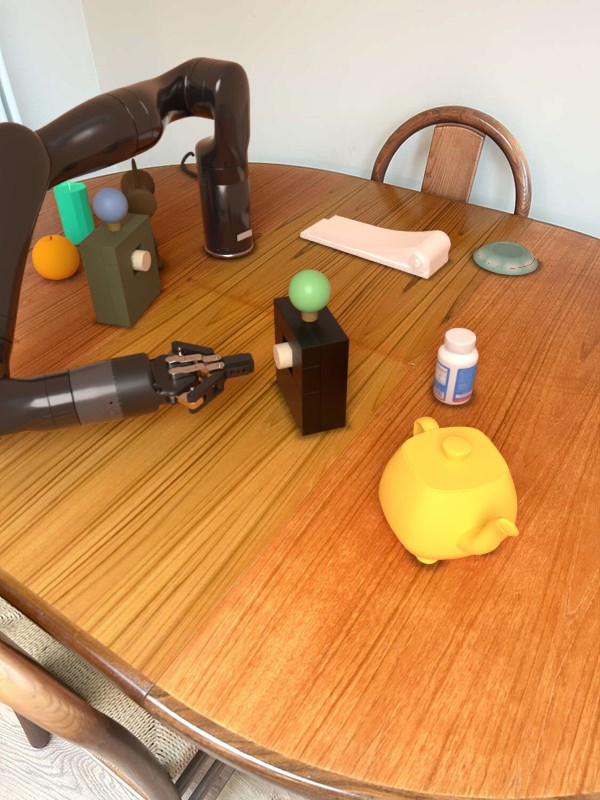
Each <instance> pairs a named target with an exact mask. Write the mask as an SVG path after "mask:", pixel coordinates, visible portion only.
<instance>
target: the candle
mask: <svg viewBox="0 0 600 800" xmlns="http://www.w3.org/2000/svg"><path fill="white" fill-rule="evenodd" d="M52 191H53V195H54V198H55V202H56V206H57V210H58V213H59V218H60V222H61V227H62V229H63V233H64V237H65V238H67V239H69V240H70V241H71V242H72V243H73V244H74V245H75V246H79V243H80V242H81V241H82V240H83V239H84V238H86V237H87V236H88V235H89V234H90V233H91V232H93V231H94V230H95V229H96V226H95V219H94V216H93V212H92V207H91V202H90V198H89V193H88V189H87V186H86V184H85V183H84V182H75V181H70V180H68V181H66V182H63V183H61V184H59V185H57V186H55V187H53V190H52Z"/></svg>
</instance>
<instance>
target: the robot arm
mask: <svg viewBox="0 0 600 800" xmlns="http://www.w3.org/2000/svg"><path fill="white" fill-rule="evenodd" d="M187 118H202V119H206V120H211V121H213V135H210V136H206V137H204V138H201V139H200V140H198V141H197V142H196V144H195V146H194V152H193V151H188V152H187V153H185V154H184V155H183V157H182V159H181V161H180V168H181V170H182V171H183V172H185V173H186V174H188V175H190V176H192V177H194V178H196V179H197V182H198V183H197V184H198V192H199V200H200V208H201V209H200V210H201V219H202V228H203V239H204V251H205V253H206V254H207V255H208V256H210V257H213V258H215V259H219V260H220V259H222V260H232V259H233V260H234V259H238V258H242V257H245V256H248V255H249V254H250V253H252V252H253V250H254V248H255V246H254V239H253V238H254V236H253V219H252V218H253V217H252V203H251V202H252V200H251V186H250V184H251V183H250V171H249V170H250V169H249V145H250V143H251V88H250V82H249V77H248V74H247V72H246V70H245V68H244V67H243V66H242V65H241V64H240V63H238V62H236V61H232V60H225V59H219V58H213V57H205V56H199V57H197V56H196V57H193V58H190V59H187V60H185V61H184V62H182V63H180V64H178V65H177V66H174V67H173V68H171V69H168V70H167V71H166V72H164V73H161V74H160V75H158V76H155V77H153V78H149V79H145V80H140V81H137V82H134V83H132V84H129V85H126V86H122V87H118V88H115V89H112V90H109V91H107V92H103V93H101V94H97V95H95V96H93V97H91V98H89V99H87V100H85V101H83V102H81V103H80V104H77V105H75V106H74V107H72V108H70V109H69V110H67V111H66V112H64V113H63V114H61V115H59V116H57V117H56V118H55V119H53V120H51V121H50V122H48V123H47V124H45V125H44V126H41V127H40V128H38V129H36V130H32V129H31V128H29V127H28V126H26V125H24V124H21V123H19V122H14V121H2V122H1V121H0V440H1V439H2V438H3V437H7V436H12V435H16V434H17V435H18V434H21V433H36V434H46V433H54V432H58V431H63V430H64V431H65V430H69V429H73V428H78V427H82V426H90V425H102V424H107V423H113V422H117V421H122V420H128V419H131V418H136V417H141V416H146V415H150V414H151V415H152V414H155V413H157V412H159V409H160V406H162V405H170V406H171V405H172V406H174V405H178V404H182V405H184V406H185V407H187V409H188V412H189V414H192V415H196V414H198V413H199V412H200V411H201V410H203V409H204V408H205V407H207V406H208V405H209V404H210V403H211V402H213V400H215V399H216V398H218V397H219V396H220V395H221V394H222V393H223V392H224V391H225V383H226V381H227V380H229V379H232V378H238V377H239V378H240V377H242V376H243V377H244V376H247V375H250V374H253V373H254V372H255V370H256V369H255V368H256V367H255V359H254V357H253V355H252V353H250V352H241V353H236V354H230V355H226V356H222V355H221V354H216V353H215V349H214V348H212V347H209V346H204V345H200V344H195V343H191V342H186V341H180V340H173V341H172V342H170V346H171V350H170V351H168V352H167V353H163V354H160V355H157V356H156V357H152V358H150V357H149V355H148V354H147V353H146V352H139V353H133V354H127V355H122V356H117V357H116V356H115V357H111V358H107V359H106V358H105V359H100V360H95V361H90V362H87V363H83V364H80V365H77V366H73V367H69V368H64V369H59V370H52V371H48V372H43V373H40V374H35V375H31V376H23V377H11V357H12V353H13V348H14V342H15V334H16V327H17V320H18V312H19V306H20V300H21V299H20V298H21V292H22V285H23V282H24V281H23V280H24V275H25V270H26V265H27V260H28V256H29V252H30V249H31V244H32V240H33V237H34V233H35V228H36V226H37V222H38V220H39V219H38V218H39V216H40V213H41V211H42V207H43V204H44V201H45V198H46V195H47V192H48V191H50V190H52V189H54V188H55V187H56V186H57V185H59V184H61V183H65V182H68V181H71V180H73V179H76V178H79V177H82V176H86V175H89V174H92V173H95V172H99V171H101V170H104V169H107V168H110V167H112V166H115V165H117V164H120V163H123V162H125V161H128V160H130V159H132V158H133V159H134V158H135V157H137V156H139V155H142V154H145V153H146V152H147V151H149V150H151V149H153V148H154V147H155V146H156V145H157V144H158V143H159V142H160V141H161V139H162V137H163V136H164V133H165V131H166V129H167V126H169V125H170V124H171V123H174V122H176V121H180V120H183V119H187ZM189 157H192V158H193V157H195V165H196V172H195V171H192V170H190V169H188V168H186V166H185V163H186V161H187V160H188V158H189Z"/></svg>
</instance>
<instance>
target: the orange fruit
mask: <svg viewBox="0 0 600 800" xmlns="http://www.w3.org/2000/svg"><path fill="white" fill-rule="evenodd" d="M31 257H32V258H31V259H32V260H31V261H32V265H33V267H34V268H35V271H37V272H38V274H40V275H41V276H42V277H43V278H45V279H47V280H54V281H59V280H60V281H61V280H66V279H68V278H69V277H71V276H73V275H75V273H76V272H77V270H78V269H79V267H80V261H81V259H80V253H79V250H78V248H77V245H74V244H73V243H72V242H71V241H70V240H69V239H67V238H65V236H63V235H61V234H60V235H59V234H49V235H45V236H42V237H41V238H40V239H38V241H36V243H35V245H34V246H33V248H32V252H31Z"/></svg>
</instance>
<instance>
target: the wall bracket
mask: <svg viewBox="0 0 600 800" xmlns="http://www.w3.org/2000/svg"><path fill="white" fill-rule="evenodd" d="M300 238H302V239H305V240H308V241H311V242H315V243H317V244H320V245H322V246H326V247H329V248H332V249H335V250H338V251H342V252H345V253H348V254H350V255H353V256H356V257H360V258H363V259H366V260H369V261H372V262H374V263H377V264H380V265H384V266H387V267H390V268H393V269H395V270H398V271H402V272H404V273H408V274H411V275H414V276H417V277H419V278H422V279H423V278H424V279H426V280H428V279H430V277H432V276H433V275H434V274H435V273H436V272H437V271H438V270H439V269H441V268H442V267H443V266H444V265H445V264H446V263H448V261H449V252H450V250H451V238H450V237H449V236H448V234H447V233H445V232H444V231H442V230H439V229H436V230H427V231H405V230H404V231H403V230H395V229H390V228H385V227H384V228H383V227H380V226H376V225H372V224H370V223H369V224H368V223H365V222H362V221H358V220H354V219H351V218H347V217H343V216H340V215H337V214H335V215H333V216H332V217H330V218H329V219H328V218H324V217H323V218H322V219H320V220H319V221H317V222H315V223H313V224H312V225H311V226H309V227H308V228H306V229H304V230H302V231H301V232H300Z"/></svg>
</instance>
